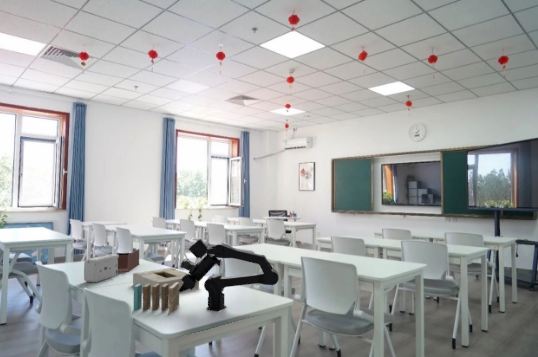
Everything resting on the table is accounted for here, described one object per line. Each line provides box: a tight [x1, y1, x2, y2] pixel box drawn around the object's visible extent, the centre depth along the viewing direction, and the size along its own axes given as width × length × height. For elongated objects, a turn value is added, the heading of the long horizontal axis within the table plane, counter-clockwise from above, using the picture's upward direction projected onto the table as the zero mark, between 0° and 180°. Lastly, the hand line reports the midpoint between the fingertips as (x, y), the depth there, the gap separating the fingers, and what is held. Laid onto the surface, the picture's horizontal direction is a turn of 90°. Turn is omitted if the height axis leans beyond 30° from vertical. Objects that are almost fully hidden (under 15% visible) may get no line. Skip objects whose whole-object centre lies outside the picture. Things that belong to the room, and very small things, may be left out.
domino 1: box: [133, 284, 143, 311], centre depth 159 cm, size 2×5×10 cm, turn 179°
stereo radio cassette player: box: [83, 247, 119, 283], centre depth 217 cm, size 21×8×20 cm, turn 164°
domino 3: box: [151, 284, 161, 311], centre depth 159 cm, size 2×5×10 cm, turn 179°
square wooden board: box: [168, 282, 180, 313], centre depth 158 cm, size 2×10×10 cm, turn 179°
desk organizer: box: [115, 248, 140, 274], centre depth 250 cm, size 10×29×11 cm, turn 5°
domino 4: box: [160, 284, 169, 311], centre depth 158 cm, size 2×5×10 cm, turn 179°
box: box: [132, 267, 200, 296], centre depth 197 cm, size 23×8×32 cm
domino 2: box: [142, 284, 152, 311], centre depth 159 cm, size 2×5×10 cm, turn 179°
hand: (179, 291), depth 158 cm, fingers closed
